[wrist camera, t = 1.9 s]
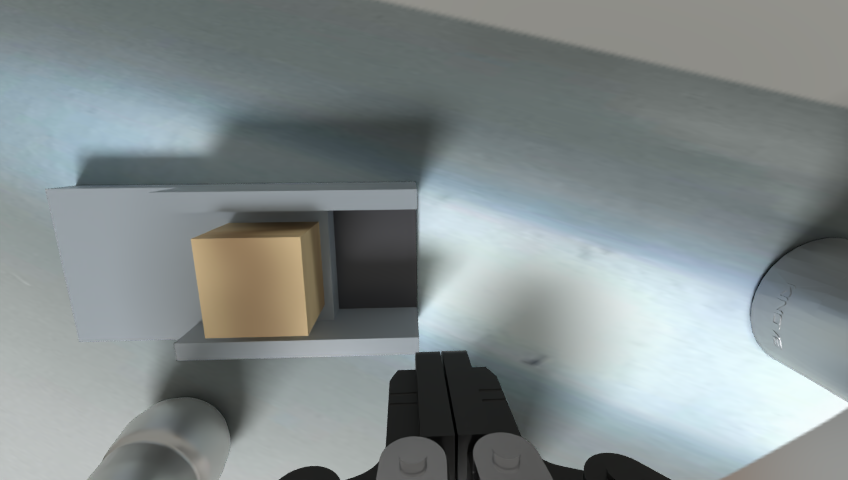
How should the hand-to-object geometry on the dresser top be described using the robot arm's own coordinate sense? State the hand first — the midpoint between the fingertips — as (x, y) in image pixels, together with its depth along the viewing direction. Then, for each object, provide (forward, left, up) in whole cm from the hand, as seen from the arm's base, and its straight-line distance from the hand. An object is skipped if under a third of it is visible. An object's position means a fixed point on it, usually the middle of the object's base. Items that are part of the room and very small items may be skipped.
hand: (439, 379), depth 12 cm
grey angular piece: (+10, 0, -14) cm, 17 cm away
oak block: (+8, 0, -12) cm, 15 cm away
